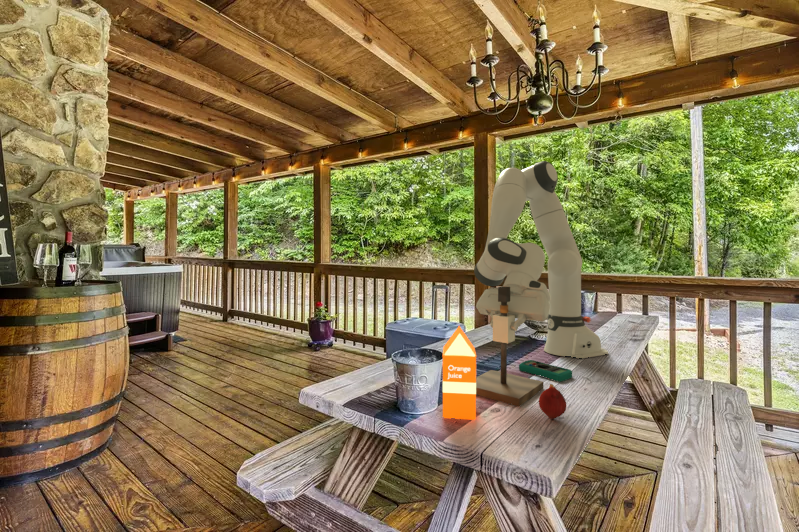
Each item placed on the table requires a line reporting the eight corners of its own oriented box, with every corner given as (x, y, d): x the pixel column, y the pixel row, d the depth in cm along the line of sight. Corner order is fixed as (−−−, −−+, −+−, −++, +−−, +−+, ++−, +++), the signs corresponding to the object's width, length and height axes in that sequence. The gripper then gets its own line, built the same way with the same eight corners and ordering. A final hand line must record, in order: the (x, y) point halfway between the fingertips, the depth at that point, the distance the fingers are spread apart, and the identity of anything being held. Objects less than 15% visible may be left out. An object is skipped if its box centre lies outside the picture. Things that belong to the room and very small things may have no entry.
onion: (569, 418, 86) (570, 384, 86) (560, 427, 82) (561, 391, 82) (544, 411, 90) (544, 378, 90) (534, 419, 86) (534, 384, 86)
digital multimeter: (530, 367, 126) (530, 358, 126) (573, 378, 114) (573, 369, 114) (516, 371, 122) (516, 362, 122) (560, 384, 110) (560, 374, 110)
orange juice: (442, 418, 87) (442, 332, 86) (443, 402, 96) (443, 324, 95) (476, 420, 86) (477, 332, 85) (474, 404, 94) (474, 325, 94)
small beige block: (500, 338, 107) (500, 313, 106) (514, 340, 104) (515, 315, 104) (492, 340, 103) (492, 315, 103) (507, 343, 100) (508, 317, 100)
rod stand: (490, 376, 115) (491, 283, 114) (543, 388, 105) (544, 286, 104) (463, 391, 103) (463, 287, 102) (519, 406, 93) (520, 291, 92)
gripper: (482, 280, 115) (465, 316, 108) (550, 284, 102) (536, 325, 95) (489, 293, 119) (473, 329, 112) (556, 299, 105) (542, 340, 98)
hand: (502, 328), depth 103 cm, fingers closed on small beige block, 4 cm apart
